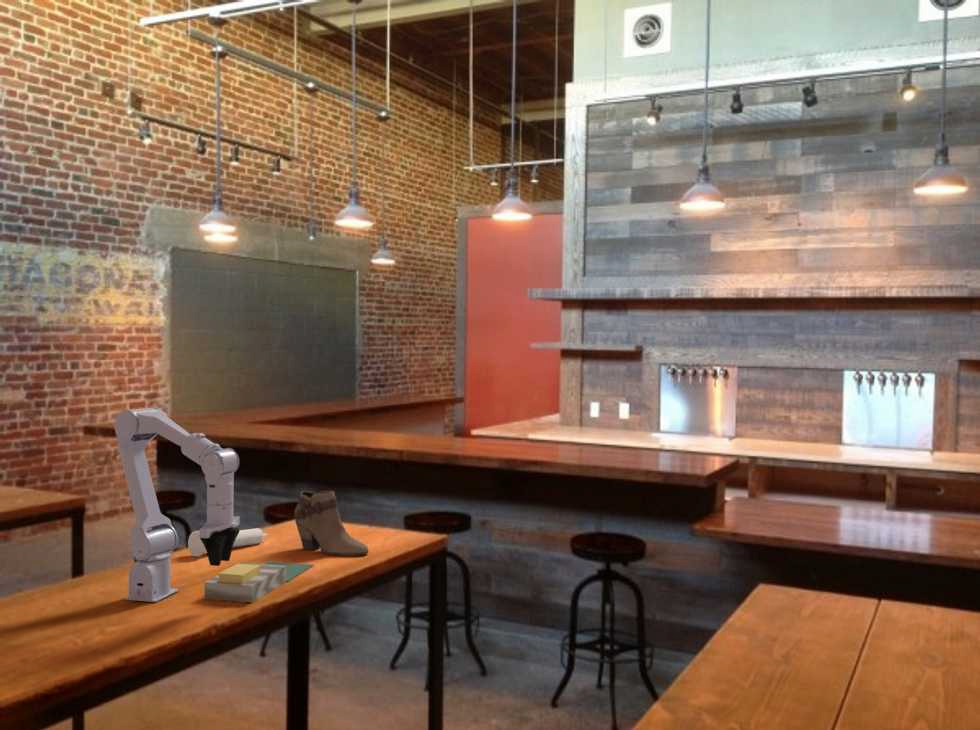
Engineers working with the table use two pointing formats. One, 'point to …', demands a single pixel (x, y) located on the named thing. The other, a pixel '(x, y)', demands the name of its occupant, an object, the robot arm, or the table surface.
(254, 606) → the table surface
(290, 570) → the mat
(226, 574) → the yellow rectangular block
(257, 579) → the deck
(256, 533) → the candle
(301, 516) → the boot
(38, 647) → the table surface
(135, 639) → the table surface
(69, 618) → the table surface
